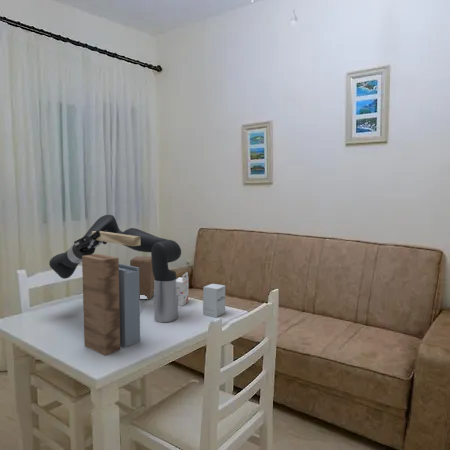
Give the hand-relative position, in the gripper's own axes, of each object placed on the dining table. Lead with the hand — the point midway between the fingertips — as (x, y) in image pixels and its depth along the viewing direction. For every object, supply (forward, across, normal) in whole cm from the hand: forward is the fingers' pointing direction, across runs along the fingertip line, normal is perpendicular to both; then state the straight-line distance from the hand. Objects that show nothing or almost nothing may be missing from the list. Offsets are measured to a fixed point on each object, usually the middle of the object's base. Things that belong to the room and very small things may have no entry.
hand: (103, 232), depth 141 cm
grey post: (-11, 0, +39) cm, 40 cm away
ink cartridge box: (-23, +46, +32) cm, 60 cm away
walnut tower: (-11, -8, +39) cm, 41 cm away
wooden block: (-42, +40, +21) cm, 62 cm away
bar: (+5, 0, +6) cm, 8 cm away
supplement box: (-4, +44, +43) cm, 61 cm away
